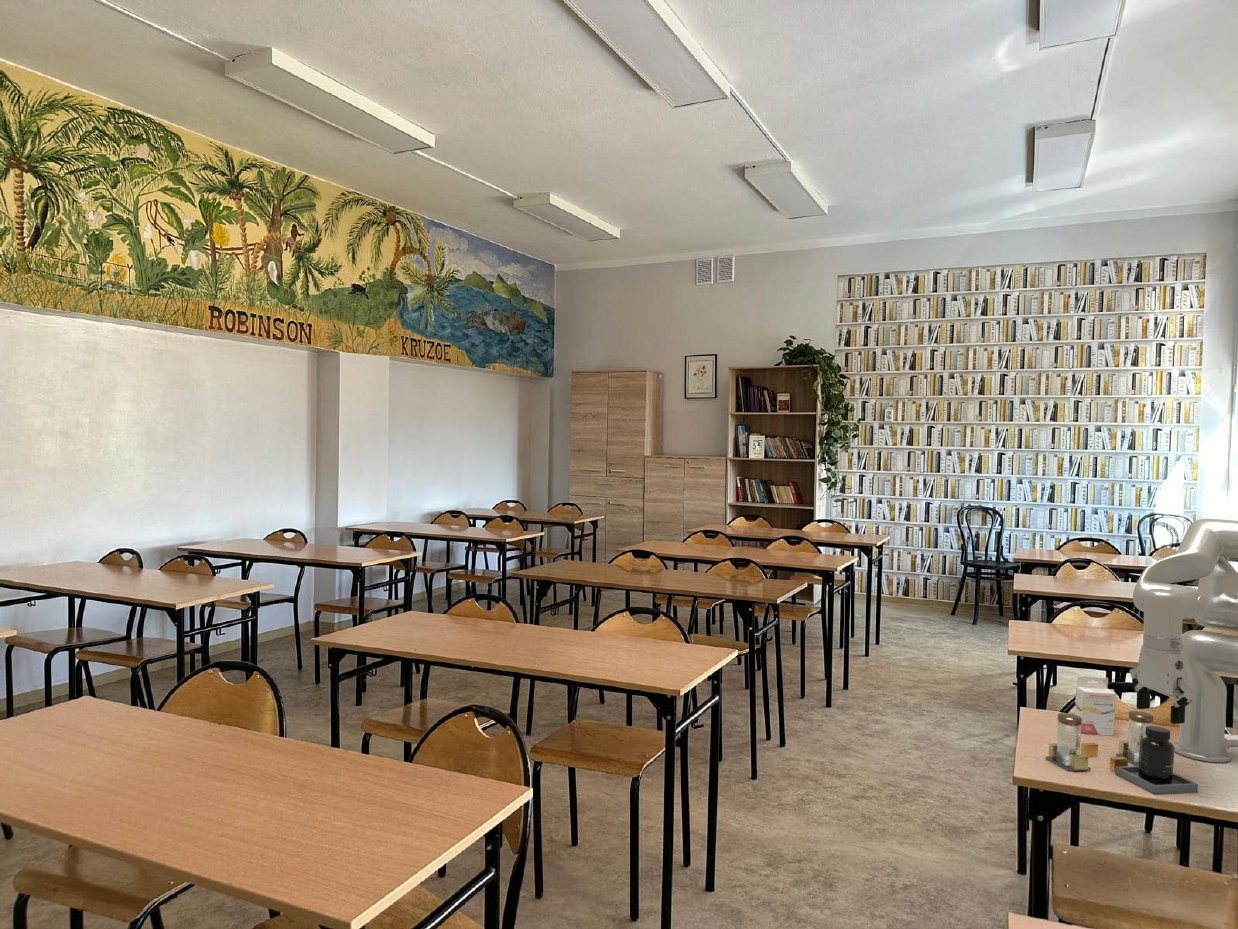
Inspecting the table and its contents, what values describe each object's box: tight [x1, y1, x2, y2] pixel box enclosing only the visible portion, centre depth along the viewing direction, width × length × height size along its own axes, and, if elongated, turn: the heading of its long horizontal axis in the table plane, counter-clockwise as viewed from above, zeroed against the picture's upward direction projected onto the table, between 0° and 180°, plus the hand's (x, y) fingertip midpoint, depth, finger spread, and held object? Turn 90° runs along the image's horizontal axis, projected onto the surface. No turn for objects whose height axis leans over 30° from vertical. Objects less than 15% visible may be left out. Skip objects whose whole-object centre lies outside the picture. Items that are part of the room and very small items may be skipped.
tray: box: [1114, 765, 1199, 795], centre depth 193 cm, size 11×11×2 cm
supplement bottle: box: [1138, 725, 1175, 785], centre depth 193 cm, size 7×7×12 cm
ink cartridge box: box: [1074, 675, 1117, 736], centre depth 228 cm, size 9×5×15 cm, turn 84°
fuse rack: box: [1045, 710, 1154, 773], centre depth 204 cm, size 26×11×12 cm, turn 100°
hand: (1159, 715), depth 193 cm, fingers open, 9 cm apart
